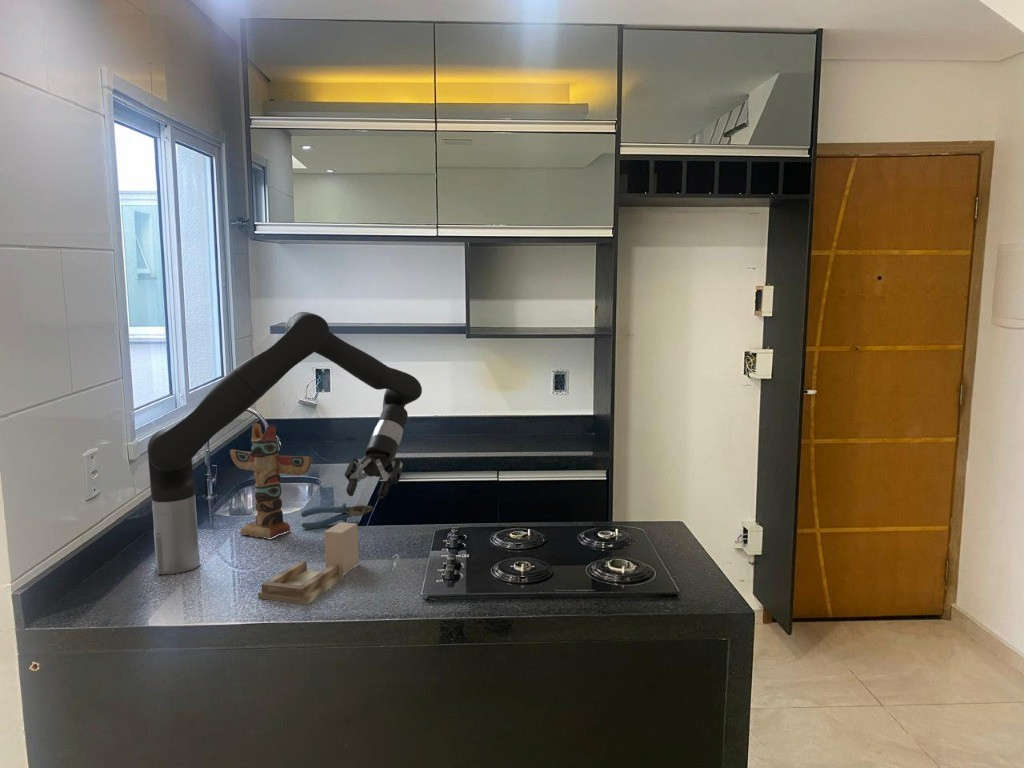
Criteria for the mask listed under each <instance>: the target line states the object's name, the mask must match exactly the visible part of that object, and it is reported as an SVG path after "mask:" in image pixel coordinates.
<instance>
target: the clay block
mask: <svg viewBox="0 0 1024 768" xmlns="http://www.w3.org/2000/svg"><path fill="white" fill-rule="evenodd" d="M358 528H359V526H358V523H351V522H346V523H345V522H344V521H342V522H341V521H339V523H336V524H335V525H333V526H332V527H331V526H330V528H327V529H325V530H324V531H323V533H324V534H323V535H324V552H325V553H324V554H325V569H327V568H328V567H330V566H331V565H333V564H335V565H339V574H344V573H346V572H347V571H348V570H350V569H351V568H353V567H354V566H355V565H357V564H358V563H359V564H360V553H359V534H358V533H359V532H358V530H359V529H358ZM353 569H354V568H353ZM346 574H347V573H346Z"/></svg>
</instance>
